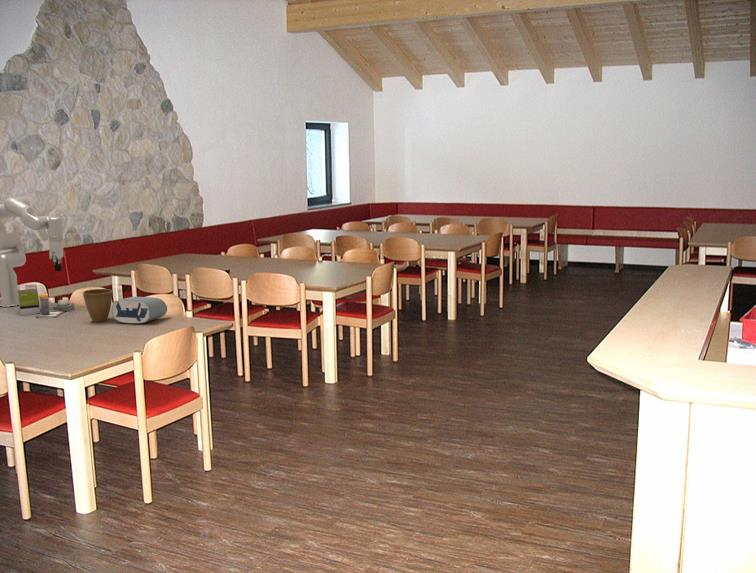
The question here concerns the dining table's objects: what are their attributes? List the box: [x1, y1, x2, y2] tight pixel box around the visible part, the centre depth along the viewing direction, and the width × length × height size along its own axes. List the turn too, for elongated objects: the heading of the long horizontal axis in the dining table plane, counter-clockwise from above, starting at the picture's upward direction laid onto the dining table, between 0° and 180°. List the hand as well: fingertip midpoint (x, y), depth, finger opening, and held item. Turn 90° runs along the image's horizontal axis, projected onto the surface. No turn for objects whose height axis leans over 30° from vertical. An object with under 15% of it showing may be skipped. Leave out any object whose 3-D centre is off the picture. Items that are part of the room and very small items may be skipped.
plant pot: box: [82, 288, 113, 323], centre depth 406 cm, size 15×15×16 cm
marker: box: [39, 293, 50, 315], centre depth 420 cm, size 4×4×11 cm
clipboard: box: [35, 309, 65, 319], centre depth 423 cm, size 14×11×1 cm
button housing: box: [52, 302, 75, 312], centre depth 436 cm, size 9×9×3 cm
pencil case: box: [111, 296, 168, 324], centre depth 405 cm, size 22×19×13 cm
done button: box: [57, 299, 69, 306], centre depth 436 cm, size 5×5×4 cm
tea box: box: [18, 283, 41, 316], centre depth 431 cm, size 15×10×15 cm, turn 25°
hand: (58, 270), depth 433 cm, fingers closed
